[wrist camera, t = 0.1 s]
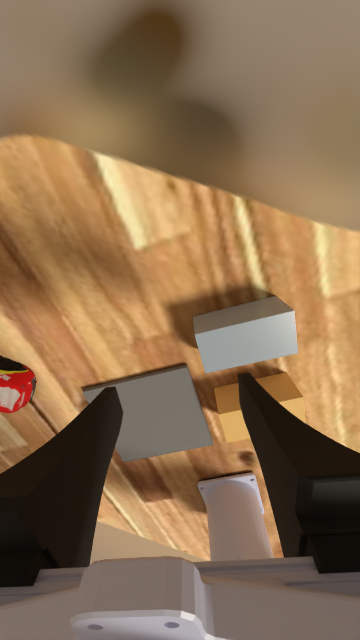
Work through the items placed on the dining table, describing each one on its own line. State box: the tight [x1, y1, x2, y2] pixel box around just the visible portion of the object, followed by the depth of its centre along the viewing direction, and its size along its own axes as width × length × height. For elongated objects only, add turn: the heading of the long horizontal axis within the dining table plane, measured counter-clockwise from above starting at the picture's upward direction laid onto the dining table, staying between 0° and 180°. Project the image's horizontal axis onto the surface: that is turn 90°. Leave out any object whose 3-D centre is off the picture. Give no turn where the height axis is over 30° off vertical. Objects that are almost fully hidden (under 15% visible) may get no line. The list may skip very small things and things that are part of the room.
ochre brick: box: [214, 372, 306, 443], centre depth 24 cm, size 4×8×4 cm, turn 106°
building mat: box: [83, 364, 213, 462], centre depth 27 cm, size 12×12×1 cm
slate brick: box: [193, 296, 298, 373], centre depth 21 cm, size 4×8×4 cm, turn 106°
